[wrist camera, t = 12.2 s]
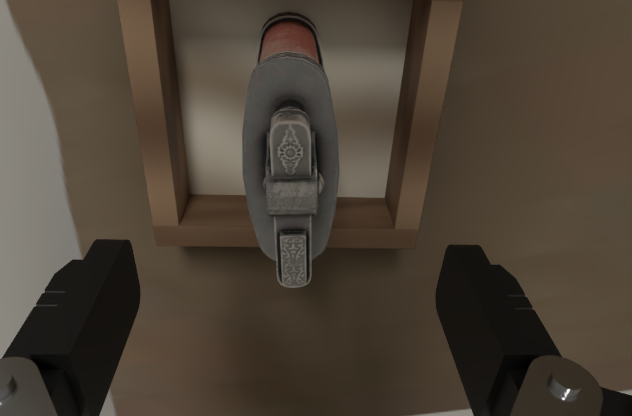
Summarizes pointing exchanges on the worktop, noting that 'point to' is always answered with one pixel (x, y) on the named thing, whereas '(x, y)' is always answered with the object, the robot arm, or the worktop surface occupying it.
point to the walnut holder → (230, 99)
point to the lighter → (290, 147)
